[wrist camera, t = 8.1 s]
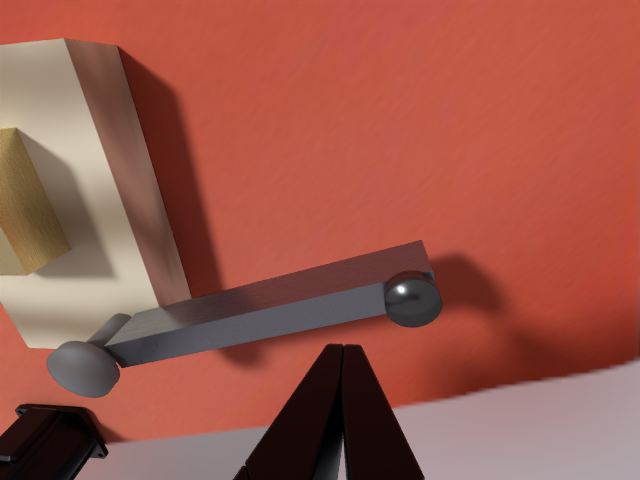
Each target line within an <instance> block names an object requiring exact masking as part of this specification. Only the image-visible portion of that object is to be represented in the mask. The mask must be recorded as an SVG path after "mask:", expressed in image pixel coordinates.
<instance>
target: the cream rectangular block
mask: <svg viewBox="0 0 640 480" xmlns="http://www.w3.org/2000/svg"><path fill="white" fill-rule="evenodd" d="M13 127H16V129H17V131H18V133H19V135H20V138H21V140H22V142H23V144H24V146H25V148H26V151H27V153H28V155H29V157H30V159H31V162H32V164H33V166H34V168H35V170H36V172H37V175H38V177H39V179H40V181H41V183H42V186H43V188H44V190H45V192H46V194H47V196H48V199H49V201H50V203H51V205H52V207H53V210H54V212H55V214H56V216H57V218H58V220H59V223H60V225H61V227H62V229H63V231H64V234H65V236H66V238H67V240H68V242H69V245H70V247H71V249H72V250H70V251H68V252H66V253H65V254H63V255H61V256H60V257H58V258H56V259H55V260H53V261H51V262H50V263H48V264H46V265H45V266H43V267H41V268H39V269H38V270H36V271H34V272H33V273H31V274H29V275H28V276H0V302H1V303H2V305H3V307H4V308H5V310H6V312H7V313H8V315H9V316H10V318H11V320H12V321H13V323H14V325H15V326H16V328H17V329H18V331H19V333H20V334H21V336H22V338H23V339H24V341H25V342H26V344H27V346H28V347H29V348H51V349H56V350H55V351H54V352H53V353H51V354H50V355H49V357H48V359H47V368H48V371H49V373H50V374H51V376H52V377H53V378H54V380H55V381H56V382H57V383H59V384H60V385H61V386H62V387H64V388H65V389H67V390H69V391H71V392H73V393H75V394H77V395H80V396H84V397H90V398H98V397H102V396H105V395H106V394H108V393H109V392H110V390H111V389H112V388H113V387H114V385H115V384H116V383H117V382H118V380H119V377H120V372H119V368H118V366H117V364H116V363H115V362H116V360H115V359H114V358H113V357H112V355H111V354H110V353H109V352H108V350H107V349H106V348H105V347H104V346H105V345H106V344H107V343H108V342H109V341H110V339H111V338H112V337H113V336H114V335H115V334H116V333H117V332H118V331H119V330H120V329H121V328H122V327H123V326H124V325H125V324H126V323H127V322H128V321H129V320H130V319H131V318H132V317H133V316H134V314H135V313H138V312H142V311H146V310H150V309H154V308H157V307H161V306H165V305H169V304H173V303H177V302H181V301H185V300H189V299H192V297H191V294H190V290H189V287H188V284H187V280H186V277H185V274H184V270H183V267H182V264H181V260H180V257H179V253H178V250H177V247H176V243H175V240H174V237H173V233H172V230H171V227H170V223H169V220H168V216H167V213H166V210H165V206H164V203H163V200H162V196H161V193H160V189H159V186H158V183H157V179H156V176H155V173H154V169H153V166H152V163H151V159H150V156H149V152H148V149H147V146H146V142H145V139H144V136H143V132H142V129H141V126H140V122H139V119H138V115H137V112H136V109H135V105H134V102H133V99H132V95H131V92H130V88H129V85H128V82H127V78H126V75H125V72H124V68H123V65H122V62H121V58H120V55H119V51H118V48H117V45H110V44H102V43H95V42H87V41H80V40H72V39H64V38H63V39H53V40H44V41H35V42H25V43H16V44H7V45H0V128H13Z"/></svg>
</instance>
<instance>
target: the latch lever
mask: <svg viewBox="0 0 640 480" xmlns="http://www.w3.org/2000/svg"><path fill="white" fill-rule="evenodd" d="M441 309H442V300H441V297H440V294H439V291H438V288H437V285H436V281H435V277H434V273H433V270H432V267H431V264H430V262H429V259H428V256H427V253H426V251H425V248H424V245H423V243H422V240H419V241H416V242H412V243H408V244H404V245H400V246H396V247H392V248H388V249H384V250H380V251H376V252H373V253H369V254H365V255H361V256H357V257H353V258H349V259H345V260H341V261H337V262H333V263H330V264H326V265H322V266H318V267H314V268H310V269H306V270H302V271H298V272H294V273H290V274H287V275H283V276H279V277H275V278H271V279H267V280H263V281H259V282H255V283H251V284H247V285H243V286H240V287H236V288H232V289H228V290H224V291H220V292H216V293H212V294H208V295H204V296H200V297H197V298H193V299H189V300H185V301H181V302H177V303H173V304H169V305H165V306H161V307H157V308H154V309H150V310H146V311H142V312H138V313H135V314H134V316H133V317H132V318H131V319H130V320H129V321H128V322H127V323H126V324H125V325H124V326H123V327H122V328H121V329H120V330H119V331H118V332H117V333H116V334H115V335H114V336H113V337H112V338H111V339H110V341H109V342H108V343H107V344H106V345H105V346H104V347H105V348H106V349H107V350H108V352H109V353H110V354H111V355H112V357H113V358H114V359H115V360H116V362H117V363H118V364H119V365H120V366H121V368H125V367H130V366H135V365H140V364H144V363H149V362H154V361H159V360H164V359H169V358H174V357H178V356H183V355H188V354H193V353H198V352H203V351H208V350H213V349H217V348H222V347H227V346H232V345H237V344H242V343H247V342H251V341H256V340H261V339H266V338H271V337H276V336H281V335H286V334H290V333H295V332H300V331H305V330H310V329H315V328H320V327H325V326H329V325H334V324H339V323H344V322H349V321H354V320H359V319H363V318H368V317H373V316H378V315H383V314H387V315H388V317H389V318H390V319H391V320H392V321H393V322H395V323H396V324H398V325H401V326H404V327H420V326H424V325H427V324H429V323H430V322H432V321H433V320H435V319H436V318H437V316H438V315H439V313H440V312H441Z"/></svg>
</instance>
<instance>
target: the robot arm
mask: <svg viewBox="0 0 640 480" xmlns="http://www.w3.org/2000/svg"><path fill="white" fill-rule="evenodd" d="M15 412H16V413H17V415H18V416H19V418H18V419H17V420H16V421H15V422H14V423H13V424H12V425H11V426H10V427H9V428H8V429H7V430H6V431H5V432H4V433H3V434H2V435H1V436H0V480H74V478H75V477H76V476H77V474H78V473H79V472H80V470H81V469H82V467H83V466H84V465H85V463H86V462H87V460H88V459H89V458H91V457H92V458H102V459H103V458H105V457H106V456H107V455H108V450H107V448H106V446H105V445H104V443H103V441H102V440H101V438H100V436H99V434H98V433H97V431H96V429H95V428H94V426H93V424H92V422H91V421H90V419H89V417H88V415H87V414H86V412H85V411H84V410H83V409H81V408H71V407H55V406H39V405H23V404H22V405H19V406H18V407H17V408H16V409H15ZM343 440H344V455H345V468H346V479H347V480H425V478H424V475H423V473H422V471H421V469H420V467H419V465H418V463H417V461H416V459H415V457H414V454H413V452H412V450H411V448H410V446H409V444H408V442H407V440H406V438H405V436H404V434H403V432H402V430H401V427H400V425H399V423H398V421H397V419H396V417H395V415H394V413H393V411H392V409H391V407H390V404H389V402H388V400H387V398H386V396H385V394H384V392H383V390H382V388H381V386H380V384H379V382H378V380H377V377H376V375H375V373H374V371H373V369H372V367H371V365H370V363H369V361H368V359H367V357H366V355H365V353H364V350H363V348H362V347H361V346H360V345H354V344H346V345H345V346H343V345H342V344H327V345H326V346H325V348H324V349H323V351H322V352H321V354H320V355H319V356H318V358H317V359H316V361H315V362H314V364H313V365H312V366H311V368H310V369H309V371H308V372H307V374H306V375H305V377H304V378H303V379H302V381H301V382H300V384H299V385H298V387H297V388H296V390H295V391H294V392H293V394H292V395H291V397H290V398H289V400H288V401H287V403H286V404H285V405H284V407H283V408H282V410H281V411H280V413H279V414H278V415H277V417H276V418H275V420H274V421H273V423H272V424H271V426H270V427H269V428H268V430H267V431H266V433H265V434H264V436H263V437H262V439H261V440H260V441H259V443H258V444H257V446H256V447H255V449H254V450H253V452H252V453H251V454H250V456H249V458H248V459H247V460H246V462H245V465H246V466H242V467H241V469H240V470H239V471H238V473H237V474H236V476H235V477H234V479H233V480H337V479H338V471H339V465H340V458H341V451H342V442H343Z"/></svg>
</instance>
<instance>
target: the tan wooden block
mask: <svg viewBox="0 0 640 480" xmlns="http://www.w3.org/2000/svg"><path fill="white" fill-rule="evenodd" d="M70 250H72V249H71V247H70V245H69V242H68V240H67V238H66V236H65V234H64V231H63V229H62V227H61V225H60V223H59V220H58V218H57V216H56V214H55V212H54V210H53V207H52V205H51V203H50V201H49V199H48V196H47V194H46V192H45V190H44V188H43V186H42V183H41V181H40V179H39V177H38V175H37V172H36V170H35V168H34V166H33V164H32V162H31V159H30V157H29V155H28V153H27V151H26V148H25V146H24V144H23V142H22V140H21V138H20V135H19V133H18V131H17V129H16V127H13V128H0V276H28V275H29V274H31V273H33V272H34V271H36V270H38V269H39V268H41V267H43V266H45V265H46V264H48V263H50V262H51V261H53V260H55V259H56V258H58V257H60V256H61V255H63V254H65V253H66V252H68V251H70Z"/></svg>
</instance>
